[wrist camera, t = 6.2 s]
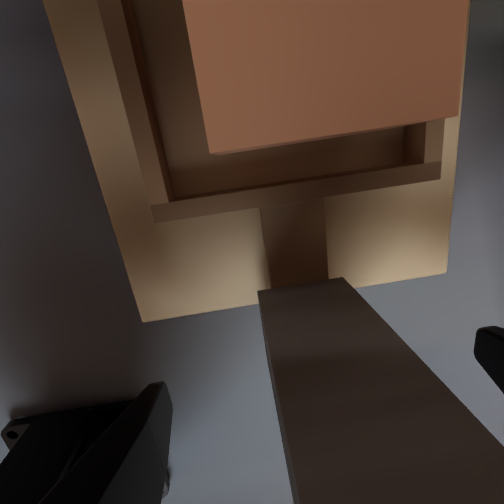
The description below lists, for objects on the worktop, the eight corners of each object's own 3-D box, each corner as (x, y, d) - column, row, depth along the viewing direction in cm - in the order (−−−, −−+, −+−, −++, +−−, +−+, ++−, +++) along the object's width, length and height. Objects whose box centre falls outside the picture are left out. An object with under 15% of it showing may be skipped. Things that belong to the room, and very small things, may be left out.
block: (353, 135, 8) (458, 115, 5) (218, 155, 8) (209, 153, 4) (350, -39, 7) (491, -268, 3) (189, -17, 7) (140, -227, 3)
